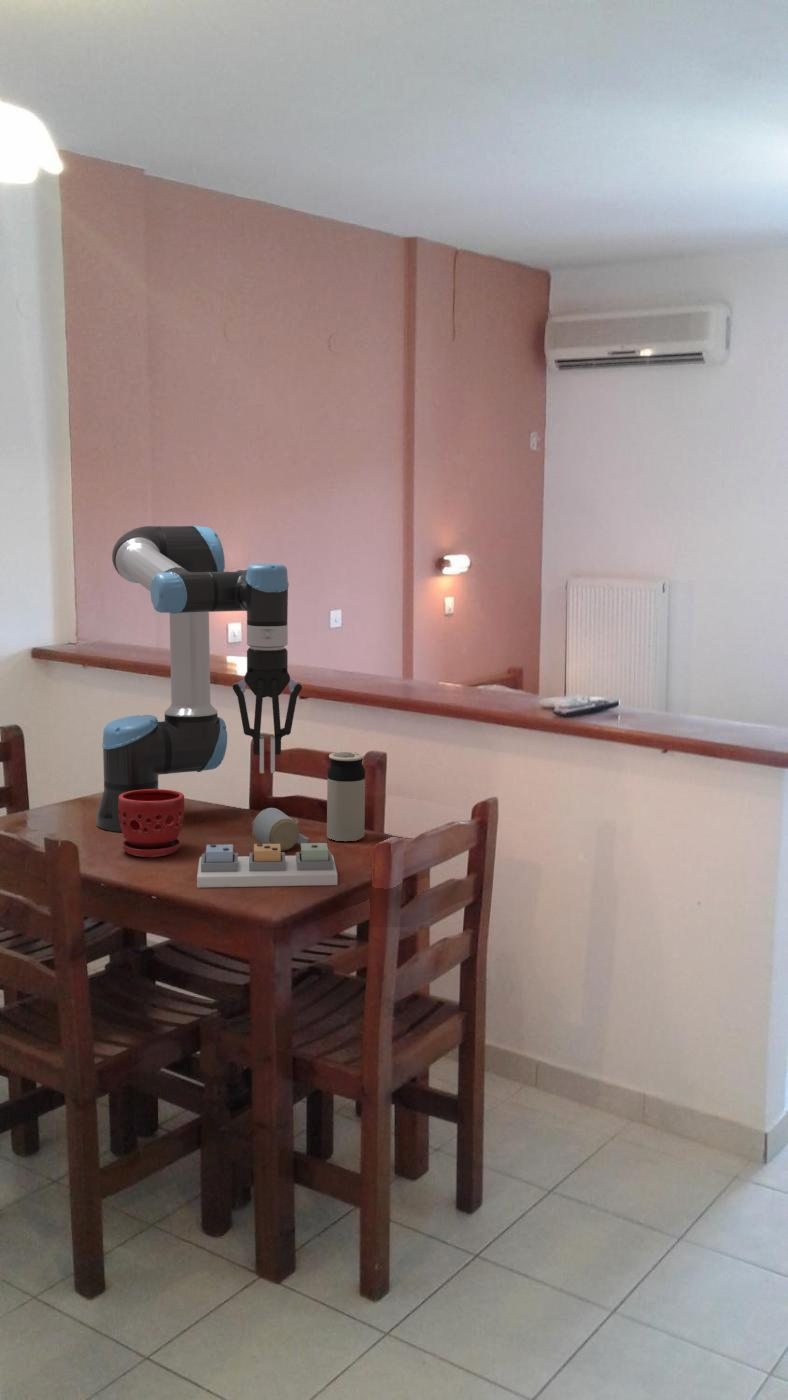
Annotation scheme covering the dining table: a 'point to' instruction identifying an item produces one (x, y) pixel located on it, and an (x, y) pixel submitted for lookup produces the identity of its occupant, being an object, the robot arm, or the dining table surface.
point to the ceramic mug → (277, 829)
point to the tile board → (266, 872)
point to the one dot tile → (314, 851)
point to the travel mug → (345, 796)
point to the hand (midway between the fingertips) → (267, 771)
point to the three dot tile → (267, 852)
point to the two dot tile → (219, 853)
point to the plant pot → (151, 821)
